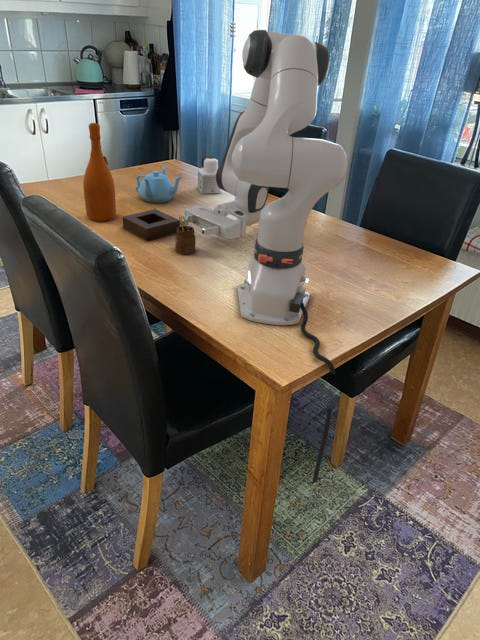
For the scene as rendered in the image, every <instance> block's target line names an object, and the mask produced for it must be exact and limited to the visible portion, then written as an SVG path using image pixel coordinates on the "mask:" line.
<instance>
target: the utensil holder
mask: <svg viewBox="0 0 480 640" xmlns="http://www.w3.org/2000/svg"><path fill="white" fill-rule="evenodd" d="M188 214H189V213H188ZM188 214H186V215H188ZM178 216H179V217H178V220H180V227H178V228H177V233H175V237H174V238H175V241H174V243H175V244H174V245H175V246H174V247H175V251H176V253H178V254H180V255H191V254H194V252H195V251H196V235H195V228H194V227H193V226H192V225H191V224H193V223H192V222H191V223H190V220H189V225H185V219H184V218H185V215H184V216H183V215H178ZM191 216H192V215H191ZM182 218H183V219H182ZM181 221H182V222H181ZM183 221H184V223H183ZM186 224H187V220H186Z"/></svg>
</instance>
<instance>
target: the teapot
mask: <svg viewBox="0 0 480 640" xmlns="http://www.w3.org/2000/svg"><path fill="white" fill-rule="evenodd" d="M161 168H162V169H161V172H160V171H159V170H153V171H152V173H147V174H146V175H145V174H143V173H142V174H138V175H137V177H136V184H137V186H135V191H136V192H137V193H138V195H139V197H140V198H141V200H143V201H144V202H148V203H154V204H161V203H163V204H164V203H167V202H169V201H171V199H172V198H174V195H175V194H176V193H177V192H178V190H179V184H180V183H179V182H180V180H181V179H183V176H177V177H176V178H175V180H174V185H173V184H172V183H171V181H170V179H169V177H168V176H167V165H163V166H162V167H161ZM140 178H143V179H142V180H141V179H140Z"/></svg>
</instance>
